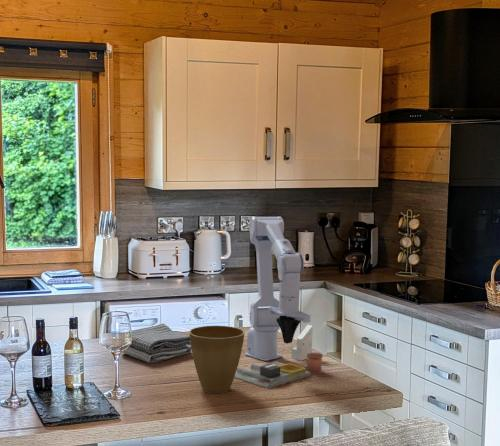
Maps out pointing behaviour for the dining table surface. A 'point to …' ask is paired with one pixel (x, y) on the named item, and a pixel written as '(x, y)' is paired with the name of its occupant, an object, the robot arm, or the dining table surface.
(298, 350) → the white angled block
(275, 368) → the switch
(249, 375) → the panel
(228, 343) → the plant pot
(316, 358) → the cap
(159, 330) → the towel
